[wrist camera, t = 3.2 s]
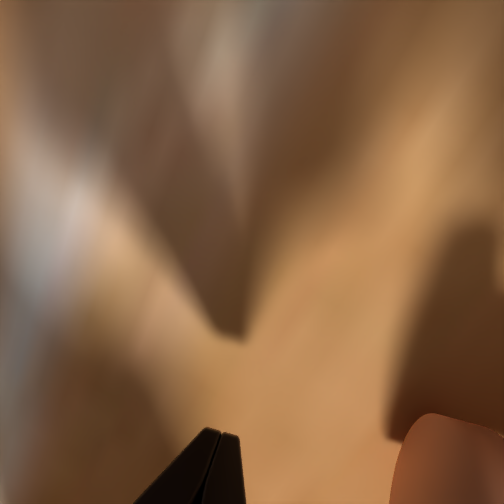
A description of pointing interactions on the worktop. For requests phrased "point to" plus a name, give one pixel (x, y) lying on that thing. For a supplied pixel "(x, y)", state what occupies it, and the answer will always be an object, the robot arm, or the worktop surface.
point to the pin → (449, 464)
